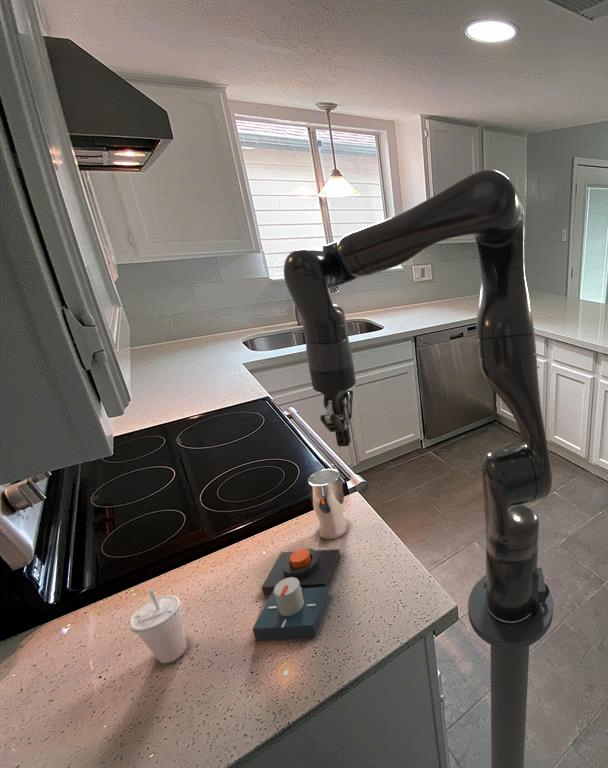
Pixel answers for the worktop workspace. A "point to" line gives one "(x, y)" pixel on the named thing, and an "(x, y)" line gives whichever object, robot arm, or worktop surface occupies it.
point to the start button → (300, 558)
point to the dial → (289, 596)
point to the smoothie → (160, 627)
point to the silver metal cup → (328, 502)
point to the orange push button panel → (304, 570)
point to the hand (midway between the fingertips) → (344, 444)
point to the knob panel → (292, 617)
